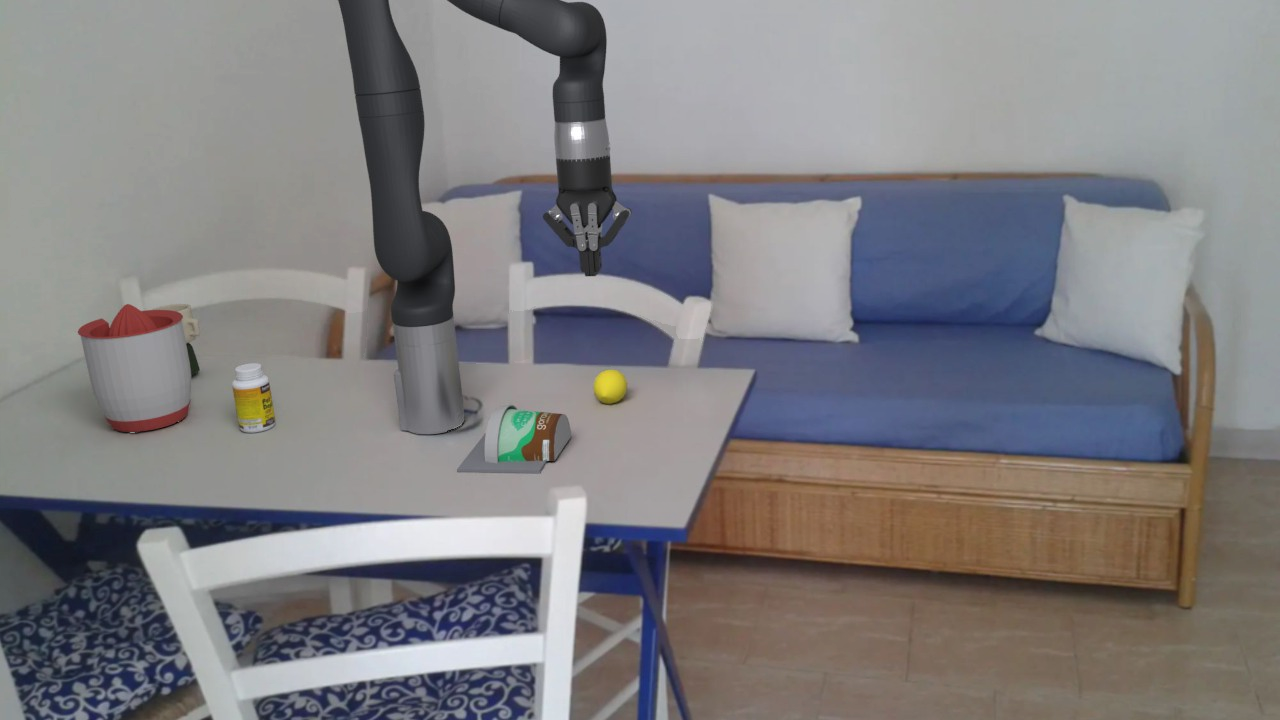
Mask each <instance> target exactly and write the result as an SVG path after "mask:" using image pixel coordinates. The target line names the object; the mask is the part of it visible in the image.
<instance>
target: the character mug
mask: <svg viewBox="0 0 1280 720" xmlns="http://www.w3.org/2000/svg"><path fill="white" fill-rule="evenodd" d="M151 310H171V311H176V312H179V313H181V314H182V316H183V319H182V324H183V330H184V335H185V340H186V346H187V351H188V357H189V362H190V369H191V377H192V376H194V375H195V374H197V373H199V372H200V371H201V370H200V365H199V362H198V359H197V356H196V353H195V350H194V347H193V345H192V344H191V342H193V341H195V340H196V337H199V336H200V335H201V329H200V324H199V323H200V322H199V320H198V319H197V318H194V317H193V310H192V307H191V305H190V304H188V303H187V304H186V303H174V304H172V303H171V304H167V305H162V306H157V307H155V308H152V309H151Z"/></svg>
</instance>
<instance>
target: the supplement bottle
mask: <svg viewBox="0 0 1280 720" xmlns="http://www.w3.org/2000/svg"><path fill="white" fill-rule="evenodd" d="M234 372H235V377H236V378H235V379H234V380H233V381H232V383H231V385H232V386H231V387H232V393H233V397H234V403H235V410H236V415H237V416H236V417H237V423H238V428H239V430H240V431H242V432H244V433H247V434H252V433H253V434H254V433H255V434H256V433H261V432H265V431H268V430H270V429H273V427H274V426H275V425H276V417H275V416H276V415H275V412H274V411H275V410H274V405H273V397H272V392H271V386H270V379H269V377H268V376H267V375H265V374H264V372H263V369H262V364H260V363H257V362H255V363H254V362H253V363H245V364H242V365H239V366H237V367H235V369H234Z"/></svg>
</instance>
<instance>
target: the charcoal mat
mask: <svg viewBox="0 0 1280 720" xmlns="http://www.w3.org/2000/svg"><path fill="white" fill-rule="evenodd" d="M485 436H486V432H485V433H484V434H483V435H482V437H481V438H480V439H479V441H477V443H476V444H475V446H474V447H473V448H472V449H471V450H470V452H469V453H468V455H467V456H466V457H465V458H464V459H463V460H462V462H461V463H460V464H459V465H458V467H457V468H456V472H457V473H499V474H500V473H506V474H507V473H508V474H509V473H510V474H513V473H514V474H541V472H542V471H543V469H544V467H545V466H546V465H547V462H548V461H502V462H498V463H490V462H485Z"/></svg>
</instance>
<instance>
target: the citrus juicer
mask: <svg viewBox="0 0 1280 720" xmlns="http://www.w3.org/2000/svg"><path fill="white" fill-rule="evenodd" d="M182 319H183V316H182V314H181V313H179V312H176V311H171V310H152V309H148V310H146V309H145V310H140V309H138V308H137V307H135V306H133V304H129V303H126V304H125V305H123V306H122V307H121V309H120V310H119V311H118V312H117V314H116V315H115V317H114V318H113V320H112V322H111V324H109V322H108V321H107V320H105V319H103V318H98V319H95V320H93V321H90V322H87V323H85V324H83V325H82V326H81V327H79V329H78V331H77V334H78V335H79V336H80V339H81V344H82V348H83V349H82V350H83V354H84V357H85V358H84V359H85V363H86V368H87V373H88V376H89V381H90V385H91V389H92V392H93V395H94V396H95V397H94V398H95V399H96V401H97V403H98V407H99V408H100V409H101V411H102V413H103V415H104V418H105V419H106V421H107V423H108V424H109V425H110V426H111V428H112V429H113V430H116V431H118V432H123V433H124V432H126V433H129V432H138V433H140V432H139V431H141V432H147V431H152V430H153V431H154V430H157V429H161V428H164V427H168V426H171V425H173V424H177V423H176V422H178V421H180V422H181V420H182V421H183V420H184V419H185V418H186V417H187V415H188V412H189V410H190V405H191V394H192V376H191V369H190V362H189V357H188V351H187V346H186V340H185V335H184V330H183V324H182ZM178 423H179V422H178Z"/></svg>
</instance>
